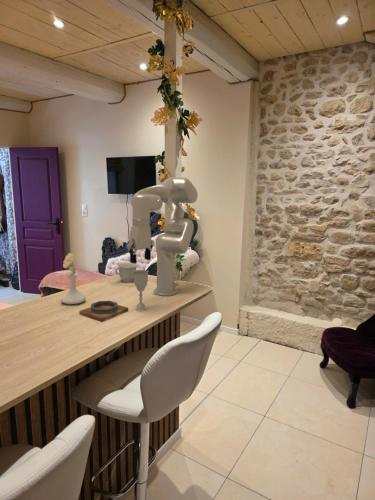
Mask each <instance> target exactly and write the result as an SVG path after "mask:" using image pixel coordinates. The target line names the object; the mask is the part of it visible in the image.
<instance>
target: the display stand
mask: <svg viewBox="0 0 375 500" xmlns="http://www.w3.org/2000/svg"><path fill="white" fill-rule="evenodd" d="M126 312H127V313H128V312H129V307H127V306H124V305H120V304H118V302H116V301H112V300H98V301H96V302H93V303H91V304H90V307H87V308H84V309H81V310H79V312H78V313H79V314H78V315H80V316H83V317H86V318H89V319H92V320H95V321H98V322H101V323H103V322H105V321H107V320H111V319H113V318H114V317H117V316H120V315H122V314H124V313H126Z"/></svg>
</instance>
